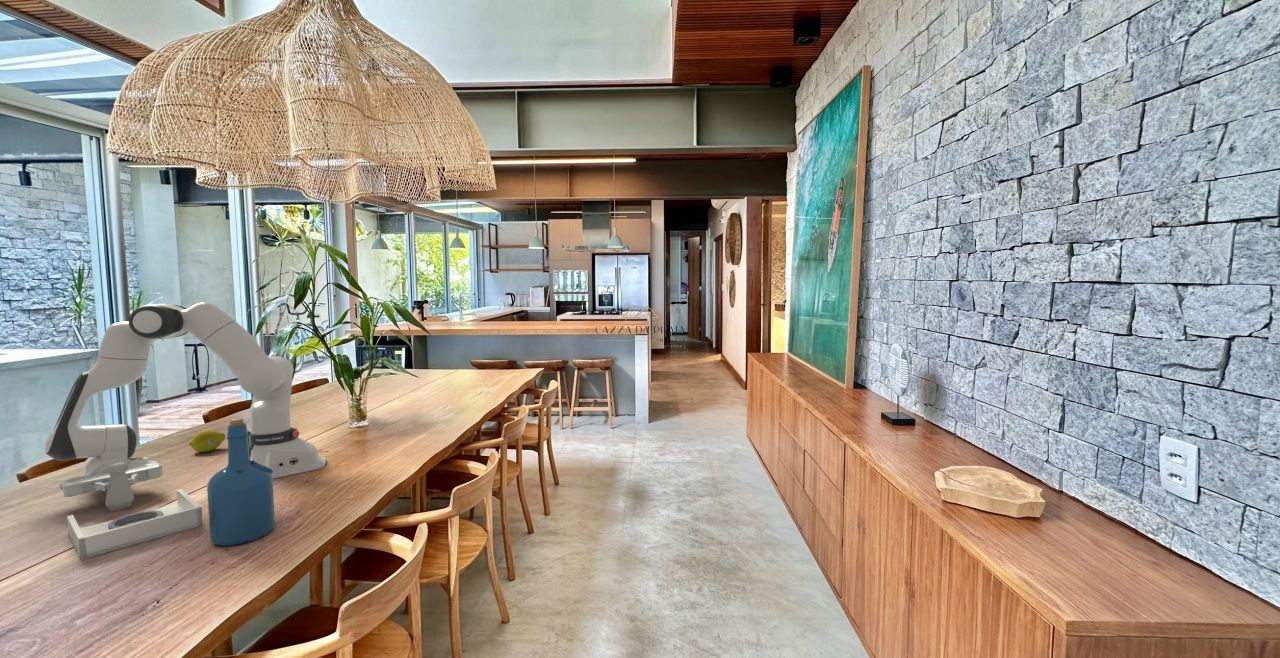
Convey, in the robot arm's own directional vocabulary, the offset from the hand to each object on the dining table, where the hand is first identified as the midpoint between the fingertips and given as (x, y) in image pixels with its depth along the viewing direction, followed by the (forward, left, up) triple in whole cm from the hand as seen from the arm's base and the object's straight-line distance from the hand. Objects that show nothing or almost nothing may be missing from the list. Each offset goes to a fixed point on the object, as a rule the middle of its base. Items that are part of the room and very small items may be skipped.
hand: (119, 484), depth 144 cm
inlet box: (-7, +20, -7) cm, 22 cm away
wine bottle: (-31, +38, -7) cm, 50 cm away
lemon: (-13, -54, -7) cm, 56 cm away
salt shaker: (0, -1, -7) cm, 7 cm away
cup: (-27, -42, -7) cm, 50 cm away
